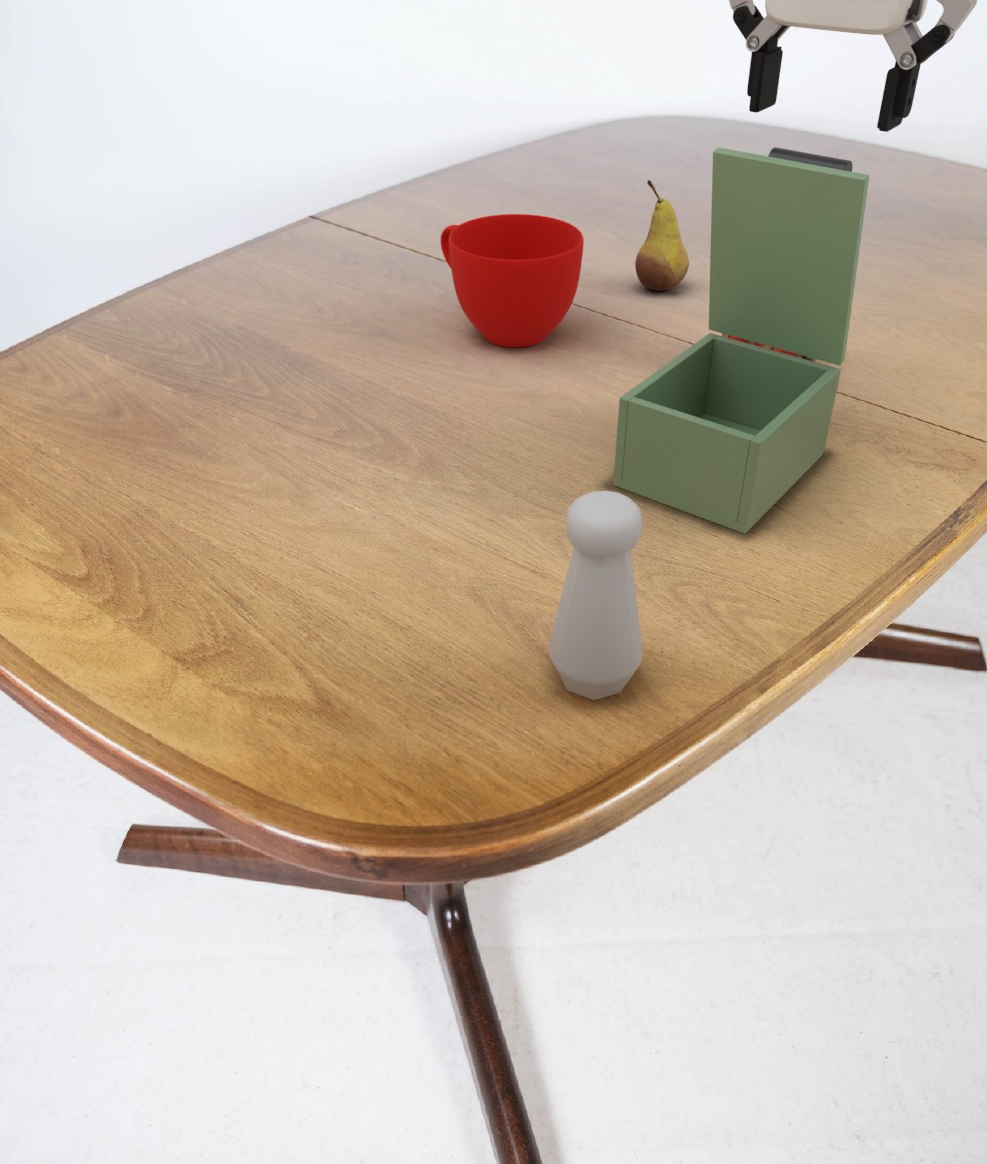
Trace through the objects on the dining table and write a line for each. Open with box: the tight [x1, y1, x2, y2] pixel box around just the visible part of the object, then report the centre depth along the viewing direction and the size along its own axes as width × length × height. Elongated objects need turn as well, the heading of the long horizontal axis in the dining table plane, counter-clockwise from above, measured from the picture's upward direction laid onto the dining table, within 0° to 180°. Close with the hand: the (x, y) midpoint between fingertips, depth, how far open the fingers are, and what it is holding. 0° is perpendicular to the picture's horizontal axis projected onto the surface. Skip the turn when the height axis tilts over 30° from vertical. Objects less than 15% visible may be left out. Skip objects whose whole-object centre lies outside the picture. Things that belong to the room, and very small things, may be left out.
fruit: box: [634, 179, 690, 292], centre depth 115 cm, size 6×6×12 cm
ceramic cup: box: [440, 213, 584, 348], centre depth 107 cm, size 13×17×10 cm
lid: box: [708, 146, 870, 367], centre depth 83 cm, size 15×12×5 cm
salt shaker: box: [548, 490, 643, 701], centre depth 64 cm, size 6×6×13 cm
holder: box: [612, 332, 842, 535], centre depth 86 cm, size 15×12×8 cm
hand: (823, 117), depth 78 cm, fingers open, 9 cm apart
